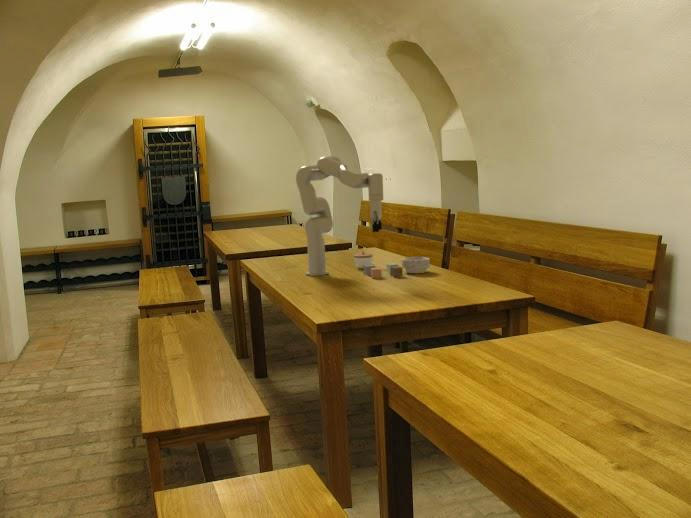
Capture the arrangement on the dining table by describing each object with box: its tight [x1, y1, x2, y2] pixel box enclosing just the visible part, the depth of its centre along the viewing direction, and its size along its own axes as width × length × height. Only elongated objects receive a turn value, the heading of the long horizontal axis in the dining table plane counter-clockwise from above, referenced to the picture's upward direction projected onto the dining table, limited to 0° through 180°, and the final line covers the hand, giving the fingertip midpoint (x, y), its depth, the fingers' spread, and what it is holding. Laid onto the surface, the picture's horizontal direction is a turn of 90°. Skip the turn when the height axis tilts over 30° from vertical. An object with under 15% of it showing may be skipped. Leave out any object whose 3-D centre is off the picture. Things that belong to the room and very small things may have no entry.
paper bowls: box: [401, 256, 431, 274], centre depth 388 cm, size 15×15×8 cm
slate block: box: [362, 264, 376, 276], centre depth 387 cm, size 5×5×5 cm
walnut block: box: [390, 265, 404, 278], centre depth 378 cm, size 5×5×5 cm
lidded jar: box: [353, 251, 373, 270], centre depth 409 cm, size 11×11×9 cm
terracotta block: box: [370, 267, 383, 279], centre depth 377 cm, size 5×5×5 cm
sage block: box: [385, 262, 399, 274], centre depth 390 cm, size 5×5×5 cm
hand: (377, 230), depth 366 cm, fingers open, 9 cm apart
